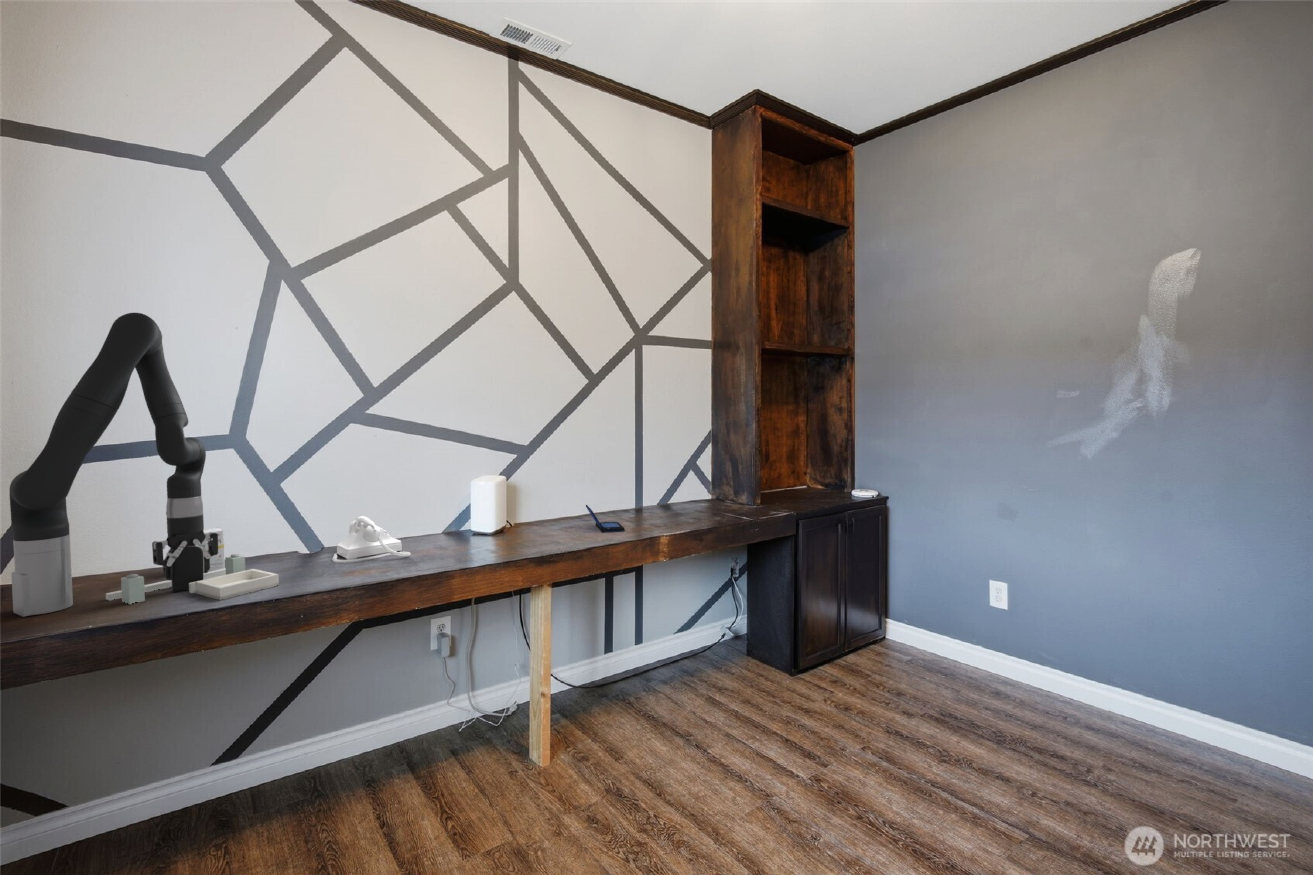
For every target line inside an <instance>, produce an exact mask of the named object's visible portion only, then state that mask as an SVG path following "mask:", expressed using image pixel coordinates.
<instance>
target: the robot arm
mask: <svg viewBox="0 0 1313 875" xmlns="http://www.w3.org/2000/svg"><path fill="white" fill-rule="evenodd" d="M134 369H135V370H136V373H137V375H138V378H139V380H140V384H141V390H142V393H143V396H144V401H145V404H146V407H147V410H148V412H149V415H150V416H151V420H152V422H153V425H154V433H155V434H154V435H155V445H156V451H157V454H158V456H159V457H160V459H161V460H162V462H164V463H165V464H167V465H169V466H172V467H175V470H174V473H173V474H172V475H169V477H168V478H167V479H166V497H167V498H166V507H165V510H166V511H165V515H166V530H167V531H166V533H167V537H166V539H165V540H161V541H157V540H155V541H153V542H152V544H151V547H152V562H153V565H155V566H162V576H163V578H164V579H165V581H167V580H169V581H170V580H173V566H171V565H172V564H173V562H174V561H175V559H176V558H177V557H178V556H179V554H180V553H181V551H182V550H183V548H184V547H188V546H200V547H201V548H202V549H203V553H204V573H208V572H209V571H208V570H209V569H210V557H212V556H214V555H217V554H218V534H217V533H213V532H210V533H209V534H204V532H203V530H204V529H205V528H204V527H205V526H204V525H205V524H204V523H205V522H204V502H203V499H202V482H201V480H202V475H203V473H204V468H205V464H206V459H207V458H206V457H207V452H206V448H205V445H204V444H203V442H202V441H201V440H200V439H198V438H196V437H185V433H184V428H185V427H187V426H188V425H189V418H188V414H187V412H186V410H185V406H184V404H183V402H182V400H181V396H180V394H179V391H178V390H177V388H176V386H175V384H174V381H173V379H172V377H171V375H170V372H169V369H168V366H167V363H166V358H165V352H164V346H163V334H162V331H161V329H160V326H158V324H157V323H156V322H155V320H154V319H153V318H152V317H150V316H149V315H147V314H144V313H141V312H129V313H125V314H123V315H121V316H119V317H117V318H116V319H115V320H114V321H113V323H112V324H111V327H110V328H109V332H108V334H107V335H106V338H105V340H104V342H103V344H102V346H101V349H100V351H99V353H98V354H97V356H96V358H95V359H94V361H93V362H92V363H91V365H90V366H89V367H88V368H87V370H86V371H85V372H84V373H83V375H82V376H81V378H80V380H79V381H78V382H77V384H75V387H74V388H73V389H72V391H71V392H70V394H69V395H68V396H67V398H66V400H65V401H64V402H63V405H62V407H61V408H60V410H59V412H58V413H57V416H56V418H55V420H54V423H53V425H52V427H51V430H50V434H49V437H48V439H47V442H46V444H45V445H44V447H43V449H42V450H41V452H40V453H39V454H38V456H37V457H36V459H35V460H34V461H33V462H32V463H31V465H30V466H29V467H28V468H27V470H25V471H24V470H23V472H22V471H21V472H20V473H18V474H17V475H16V476H15V477H14V478H13V479H12V480H11V482H10V485H9V506H10V507H9V509H10V522H11V531H12V541H13V542H12V543H13V560H14V571H12V572H11V576H10V577H11V589H12V591H11V593H12V596H11V597H12V611H13V612H12V613H14V614H15V615H18V616H20V617H23V618H24V617H27V616H28V617H29V616H35V615H45V614H48V613H49V614H50V613H54V612H58V611H63V610H66V609H68V608H70V607H72V606H74V603H73V599H74V595H73V581H72V580H73V578H72V558H71V557H72V555H71V533H70V522H69V518H68V512H67V497H68V495H69V493H70V491H71V489H72V486H73V484H74V481H75V478H76V477H77V474H78V472H79V470H80V468H81V466H82V464H83V462H84V461H85V458H86V457H87V456H88V454H89V453H90V451H91V450H92V449H93V448H94V446H96V444H97V442H98V441H99V440H100V439H101V437H102V436H103V434H104V433H105V431H106V430H107V428H108V426H110V423H111V422H112V421H113V419H114V417H115V415H116V414H117V413H118V411H119V409H120V407H121V406H122V403H123V401H124V398H125V396H126V392H127V390H128V388H129V387H128V386H129V383H130V381H131V377H132V374H133V372H134ZM205 538H206V540H207V541H208V552H207V551H206V549H205V548H204V546H203V545H202V543H203V541H204V540H205ZM166 546H168V548H169V550H168V551H167V552H166V554H165V556H164V550H165V548H166ZM172 550H175V551H174V553H173V554H171V551H172ZM164 557H165V558H164Z"/></svg>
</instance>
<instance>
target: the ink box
mask: <svg viewBox="0 0 1313 875" xmlns="http://www.w3.org/2000/svg"><path fill="white" fill-rule="evenodd" d="M203 532H204V534H209V533H210V532H213V533H217V534H218V554H217V555H214V556H212V557H210V569H209V570H208V572H210V571H214V570H219V569H224V568H226V563H225V557H226V556H225V537H224V536H225V533H224V532H225V531H224V530H223V529H221V528H220V527H215V528H206V529H205V528H204V530H203ZM202 545H203V546H204V548H205V549H206V551H207V552H208V541H207V540H206V538H205V540H204V541H203V543H202Z"/></svg>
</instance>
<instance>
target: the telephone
mask: <svg viewBox="0 0 1313 875" xmlns="http://www.w3.org/2000/svg"><path fill="white" fill-rule="evenodd" d="M402 547H403V546H402V540H400V539H397V538H394V537H392V536H391V534H390V533H388V531H386V530H385V529H383V528H382V527H380V526H377V525H376V521H372V520H371V519H370V518H369V517H367V516H363V515H361V516H358V517H356V518H355V520H353V521H351V523H350V525H349V530H348V535H347V536H346V537H345V539H343V540H342V541H341V542H339V543H337V544H336V553H334V555H333V556H332V558H331V559H332V562H333V563H336V564H349V563H356V562H357V563H358V562H364V561H369V560H375V559H379V558H383V557H388V556H389V555H391V556H400V557H410V556H411V555H412V554H411V552H410V551H402V549H403V548H402ZM397 551H400V552H397ZM337 554H338V555H339V556H341V557H343V558H344V559H338V555H337Z"/></svg>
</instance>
